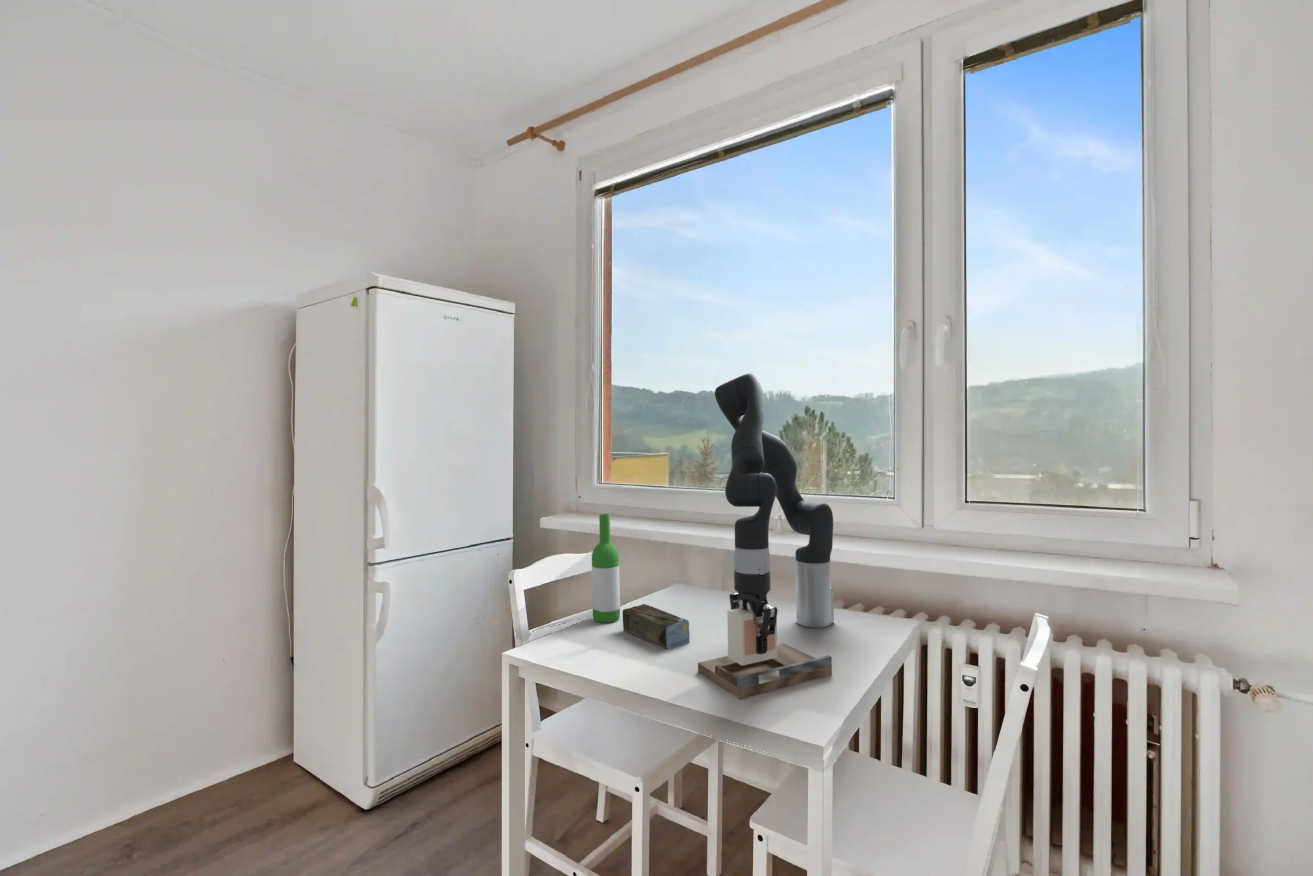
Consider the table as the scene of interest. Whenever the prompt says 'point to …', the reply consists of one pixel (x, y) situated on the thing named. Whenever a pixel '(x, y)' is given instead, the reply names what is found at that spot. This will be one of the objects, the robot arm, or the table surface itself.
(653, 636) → the beverage carton
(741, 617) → the tea box
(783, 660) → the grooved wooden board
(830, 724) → the table surface
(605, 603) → the wine bottle
